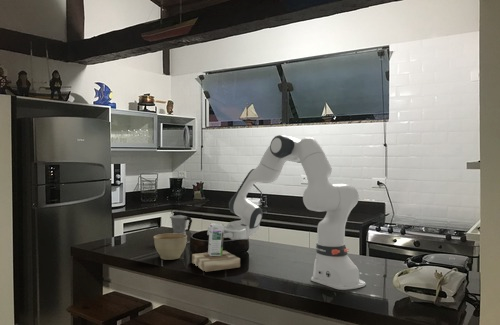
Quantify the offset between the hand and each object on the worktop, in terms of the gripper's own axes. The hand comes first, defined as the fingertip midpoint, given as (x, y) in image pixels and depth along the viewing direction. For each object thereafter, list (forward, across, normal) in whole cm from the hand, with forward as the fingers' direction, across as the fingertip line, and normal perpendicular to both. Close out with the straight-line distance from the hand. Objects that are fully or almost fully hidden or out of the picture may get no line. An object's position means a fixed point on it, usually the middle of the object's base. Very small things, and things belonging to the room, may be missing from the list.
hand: (216, 234), depth 192 cm
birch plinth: (0, 0, +14) cm, 14 cm away
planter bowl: (+4, -26, +14) cm, 30 cm away
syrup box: (0, 0, +10) cm, 10 cm away
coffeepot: (-23, -48, +14) cm, 55 cm away
